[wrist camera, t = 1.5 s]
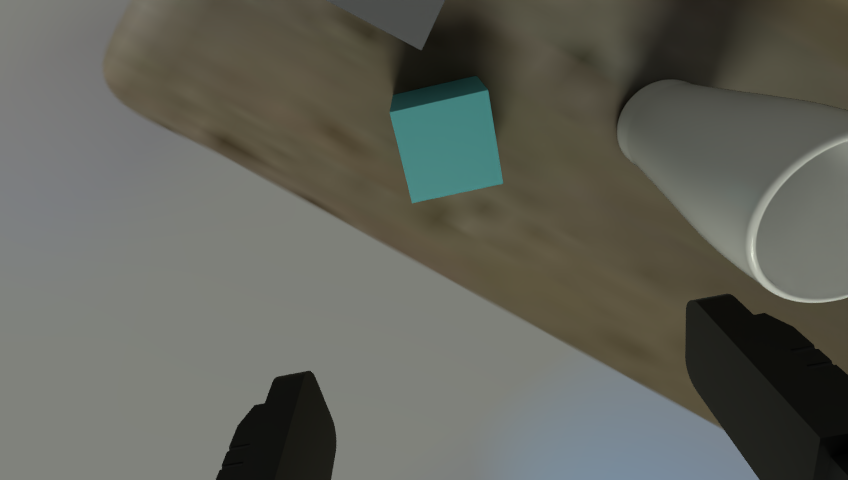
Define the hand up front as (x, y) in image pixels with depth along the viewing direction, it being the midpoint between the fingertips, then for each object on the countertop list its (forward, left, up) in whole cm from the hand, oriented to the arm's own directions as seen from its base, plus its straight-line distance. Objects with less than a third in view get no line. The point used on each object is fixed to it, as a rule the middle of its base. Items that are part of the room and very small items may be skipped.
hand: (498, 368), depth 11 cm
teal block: (0, 0, -22) cm, 22 cm away
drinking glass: (-1, +13, -22) cm, 26 cm away
